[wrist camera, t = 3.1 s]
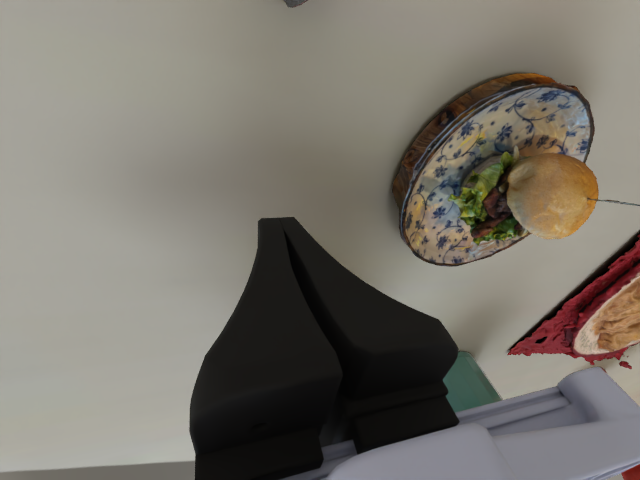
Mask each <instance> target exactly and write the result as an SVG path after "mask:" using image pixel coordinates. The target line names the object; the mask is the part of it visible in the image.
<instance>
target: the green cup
mask: <svg viewBox="0 0 640 480" xmlns="http://www.w3.org/2000/svg"><path fill="white" fill-rule="evenodd" d="M443 382H444V384H445V385H446V387H447V389H448V394H447V395H446V398H447V400H448V402H449V403H450V405H451V407H452V409H453V410H454V412H455V413H456V412H460V411H463V410H467V409H471V408H475V407H479V406H483V405H486V404H490V403H494V402H498V401H502V400H503V399H502V397H501V396H500V394H499V393H498V392H497V390H496V389H495V387H494V386H493V384H492V383H491V382H490V380H489V379H488V377H487V376H486V374H485V373H484V371H483V370H482V369H481V367H480V366H479V364H478V363H477V361H476V360H475V359H474V358H473V356H472V355H471V354H470V353H468V352H458V357H457V359H456V361H455V363H454V365H453V366H452V367H451V369H450V370H449V372H448V373H447V374H446V376H445V377H444V379H443Z"/></svg>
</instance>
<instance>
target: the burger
mask: <svg viewBox="0 0 640 480" xmlns="http://www.w3.org/2000/svg"><path fill="white" fill-rule="evenodd" d="M594 131H595V127H594V121H593V117H592V113H591V109H590V105H589V102H588V101H587V100H586V99H585V98H584V97H583V95H582V94H581V93H580V91H579V90H578V88H577V87H575V86H568V85H563V84H561V83H557V82H555V81H554V80H553V79H551V78H549V77H546V76H542V75H539V74H535V73H528V74H513V75H508V76H505V77H501V78H497V79H493V80H491V81H489V82H487V83H485V84H483V85H480V86H478V87H476V88H474V89H472V90H470V91H469V92H467V93H466V94H464V95H463V96H461V97H460V98H458V99H457V100H455V101H454V102H453V103H451V104H450V105H448V106H447V107H446V108H445V109H444V110H443V111H442V112H441V113H440V114H438V115H437V116H436V117H435V118H434V119H433V120H432V121H431V122H430V123H429V124H428V125H427V127H426V128H425V129H424V130H423V131H422V133H421V134H420V135H419V136H418V137H417V139H416V140H415V141H414V142H413V144H412V146H411V147H410V149H409V150H408V152H407V154H406V155H405V157H404V159H403V160H402V165H401V168H400V172H399V174H397V175H396V178H395V180H394V183H393V188H392V192H393V194H394V197H395V200H396V203H397V206H398V208H399V229H400V234H401V238H402V239H403V241H404V242H405V243H406V244H407V245H408V247H409V248H410V249H411V250H412V252H413V254H414V255H415V256H417V257H418V258H420V259H421V260H423V261H425V262H428V263H431V264H435V265H439V266H459V265H463V264H466V263H470V262H473V261H477V260H480V259H484V258H487V257H491V256H492V255H494V254H496V253H498V252H500V251H502V250H505V249H507V248H509V247H511V246H512V245H514V244H516V243H517V242H519V241H521V240H522V239H524V238H525V237H527V236H528V235H529V234H533V235H536V236H538V237H541V238H543V239H561V238H563V237H566V236H569V235H571V234H572V233H574V232H575V231H576V230H578V228H579V227H581V225H583V224H584V222H585V221H586V220H587V219H588V218H589V216H590V214H591V213H592V211H593V209H594V208H595V204H596V202H597V201H605V202H614V203H620V204H629V205H637V204H630V203H626V202H619V201H613V200H598V184H597V181H596V179H597V178H596V177H595V176H594V174H593V171H591V170H590V169H589V168H588V167H587V166H586V164H585V162H586V160H587V157H588V155H589V152H590V147H591V144H592V141H593V136H594ZM637 206H640V205H637Z"/></svg>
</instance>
